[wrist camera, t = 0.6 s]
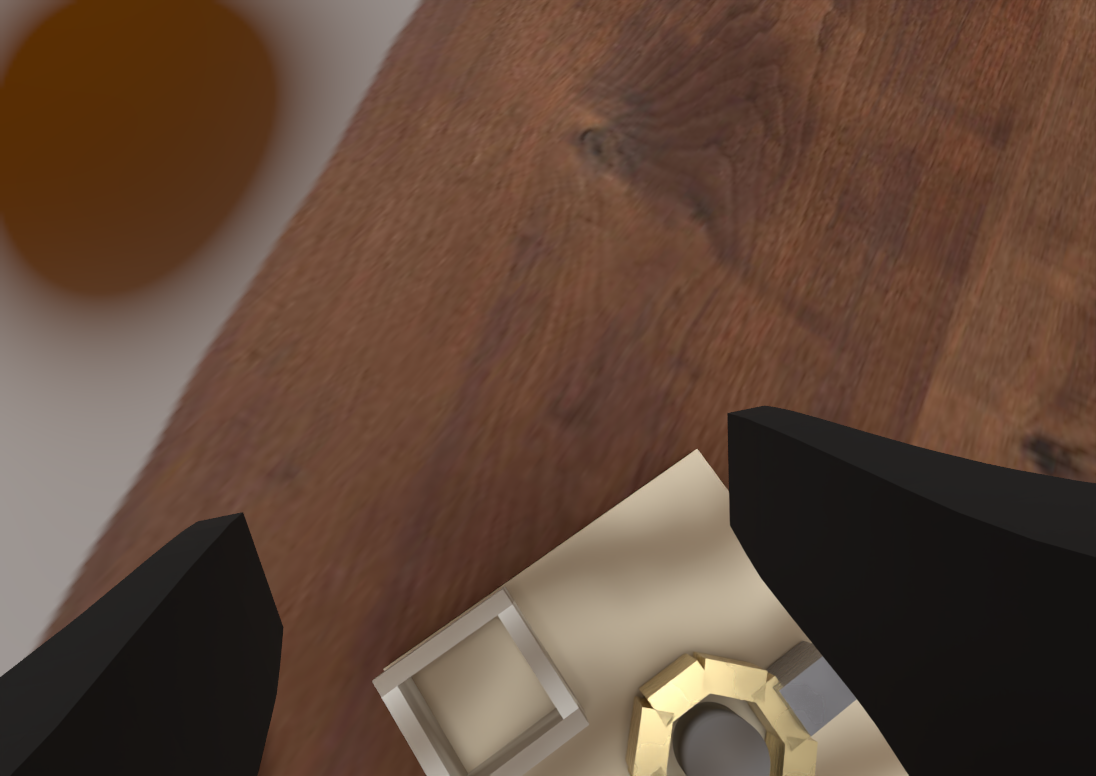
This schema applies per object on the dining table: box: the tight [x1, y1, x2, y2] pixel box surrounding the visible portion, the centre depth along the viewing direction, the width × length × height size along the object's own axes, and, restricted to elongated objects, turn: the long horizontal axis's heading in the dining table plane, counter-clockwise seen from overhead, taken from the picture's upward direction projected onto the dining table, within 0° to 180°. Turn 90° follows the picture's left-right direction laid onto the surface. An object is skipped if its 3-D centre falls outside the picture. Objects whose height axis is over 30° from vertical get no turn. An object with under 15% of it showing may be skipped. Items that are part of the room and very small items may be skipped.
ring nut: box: [625, 641, 857, 776], centre depth 30 cm, size 8×10×3 cm
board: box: [372, 449, 909, 776], centre depth 31 cm, size 18×19×4 cm
